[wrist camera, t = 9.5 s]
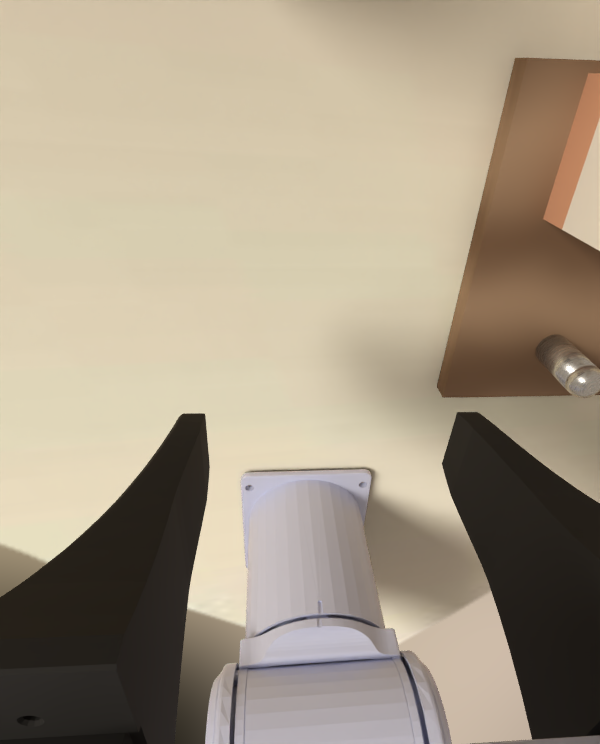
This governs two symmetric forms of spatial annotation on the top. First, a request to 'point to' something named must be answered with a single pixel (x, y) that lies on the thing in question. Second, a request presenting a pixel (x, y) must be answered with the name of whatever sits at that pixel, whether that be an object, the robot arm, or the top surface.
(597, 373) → the steel pin
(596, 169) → the sleeve
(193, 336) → the top surface
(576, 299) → the board
